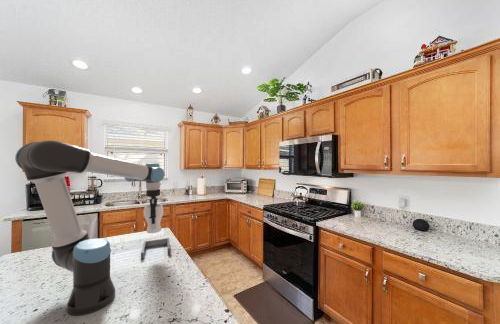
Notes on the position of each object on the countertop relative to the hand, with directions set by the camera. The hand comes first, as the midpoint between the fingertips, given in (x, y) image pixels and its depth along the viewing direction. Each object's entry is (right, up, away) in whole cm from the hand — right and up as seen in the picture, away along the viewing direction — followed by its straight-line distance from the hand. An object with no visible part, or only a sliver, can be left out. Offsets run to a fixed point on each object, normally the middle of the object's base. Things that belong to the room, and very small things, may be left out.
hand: (154, 226), depth 122 cm
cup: (0, -3, 0) cm, 3 cm away
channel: (-2, -18, +7) cm, 19 cm away
